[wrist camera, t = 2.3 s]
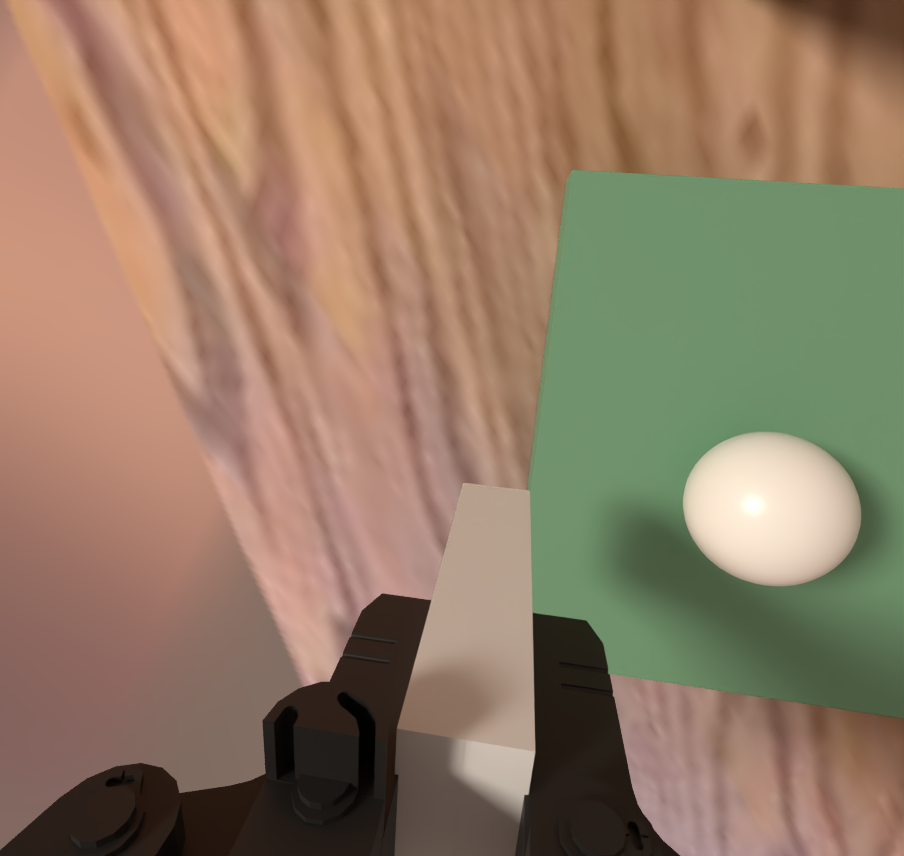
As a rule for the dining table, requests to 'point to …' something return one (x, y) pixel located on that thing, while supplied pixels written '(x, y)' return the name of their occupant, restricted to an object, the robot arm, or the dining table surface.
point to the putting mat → (721, 425)
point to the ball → (772, 509)
